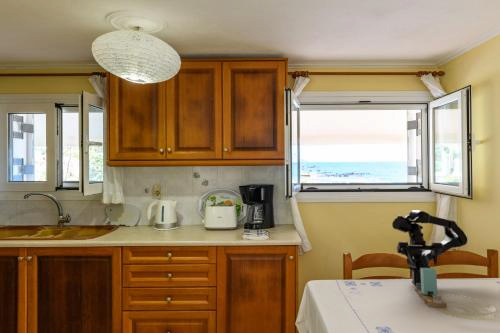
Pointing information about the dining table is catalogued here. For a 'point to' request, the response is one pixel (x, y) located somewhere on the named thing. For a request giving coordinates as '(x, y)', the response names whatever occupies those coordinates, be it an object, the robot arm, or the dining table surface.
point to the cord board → (430, 298)
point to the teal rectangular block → (428, 281)
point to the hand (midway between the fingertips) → (424, 264)
